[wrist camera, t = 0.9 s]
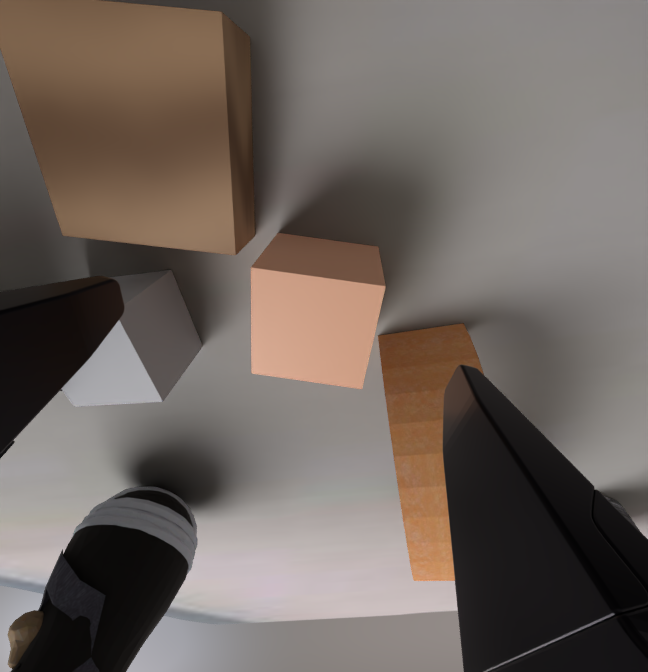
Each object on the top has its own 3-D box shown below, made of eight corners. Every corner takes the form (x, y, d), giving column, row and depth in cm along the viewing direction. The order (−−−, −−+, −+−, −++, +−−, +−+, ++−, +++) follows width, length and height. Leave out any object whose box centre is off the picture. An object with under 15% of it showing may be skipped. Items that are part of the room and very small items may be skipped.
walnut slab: (256, 234, 20) (235, 255, 17) (112, 218, 20) (62, 235, 17) (251, 38, 15) (221, 11, 12) (63, 20, 15) (-20, -11, 12)
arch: (403, 502, 33) (419, 631, 24) (377, 333, 23) (390, 453, 14) (464, 500, 32) (504, 633, 23) (466, 321, 22) (535, 442, 13)
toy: (127, 444, 31) (-145, 814, 14) (230, 486, 34) (100, 851, 17) (106, 497, 37) (-111, 813, 20) (196, 530, 39) (71, 841, 22)
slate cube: (203, 345, 24) (162, 401, 19) (130, 351, 25) (74, 406, 20) (172, 269, 21) (114, 311, 16) (91, 279, 22) (13, 322, 17)
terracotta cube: (360, 331, 23) (361, 389, 18) (274, 319, 23) (251, 373, 18) (378, 246, 20) (385, 286, 14) (278, 232, 20) (250, 267, 14)
